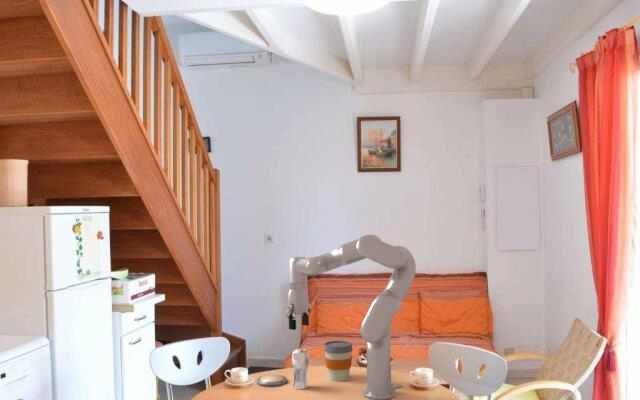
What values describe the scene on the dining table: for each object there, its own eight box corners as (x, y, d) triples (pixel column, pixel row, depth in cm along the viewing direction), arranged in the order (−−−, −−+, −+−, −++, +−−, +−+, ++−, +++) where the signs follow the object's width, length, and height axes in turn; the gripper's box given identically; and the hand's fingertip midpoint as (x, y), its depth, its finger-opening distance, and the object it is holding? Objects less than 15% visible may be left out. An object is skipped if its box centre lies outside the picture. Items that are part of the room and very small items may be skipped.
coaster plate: (283, 376, 223) (283, 372, 223) (290, 384, 211) (289, 381, 211) (254, 379, 219) (254, 375, 219) (259, 388, 207) (259, 384, 207)
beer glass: (306, 390, 203) (306, 353, 204) (290, 389, 205) (289, 352, 205) (310, 384, 210) (309, 349, 211) (294, 384, 211) (294, 348, 212)
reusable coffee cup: (321, 381, 214) (320, 346, 215) (329, 373, 226) (328, 339, 227) (349, 383, 211) (348, 347, 212) (355, 374, 223) (355, 341, 224)
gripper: (302, 283, 219) (302, 322, 218) (279, 288, 204) (279, 330, 203) (316, 284, 215) (317, 324, 214) (294, 289, 200) (295, 332, 199)
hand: (299, 327), depth 209 cm, fingers open, 9 cm apart
